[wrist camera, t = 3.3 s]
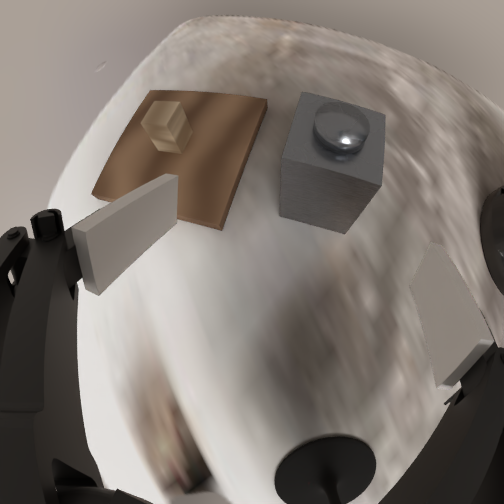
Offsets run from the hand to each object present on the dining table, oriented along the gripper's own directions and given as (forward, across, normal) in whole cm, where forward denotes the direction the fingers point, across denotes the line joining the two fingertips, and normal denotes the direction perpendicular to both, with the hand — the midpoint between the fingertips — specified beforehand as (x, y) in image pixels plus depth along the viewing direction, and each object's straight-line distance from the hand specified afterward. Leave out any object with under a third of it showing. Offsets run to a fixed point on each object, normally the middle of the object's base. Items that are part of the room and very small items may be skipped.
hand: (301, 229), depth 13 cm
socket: (+14, +1, -3) cm, 14 cm away
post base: (+16, -15, -1) cm, 22 cm away
